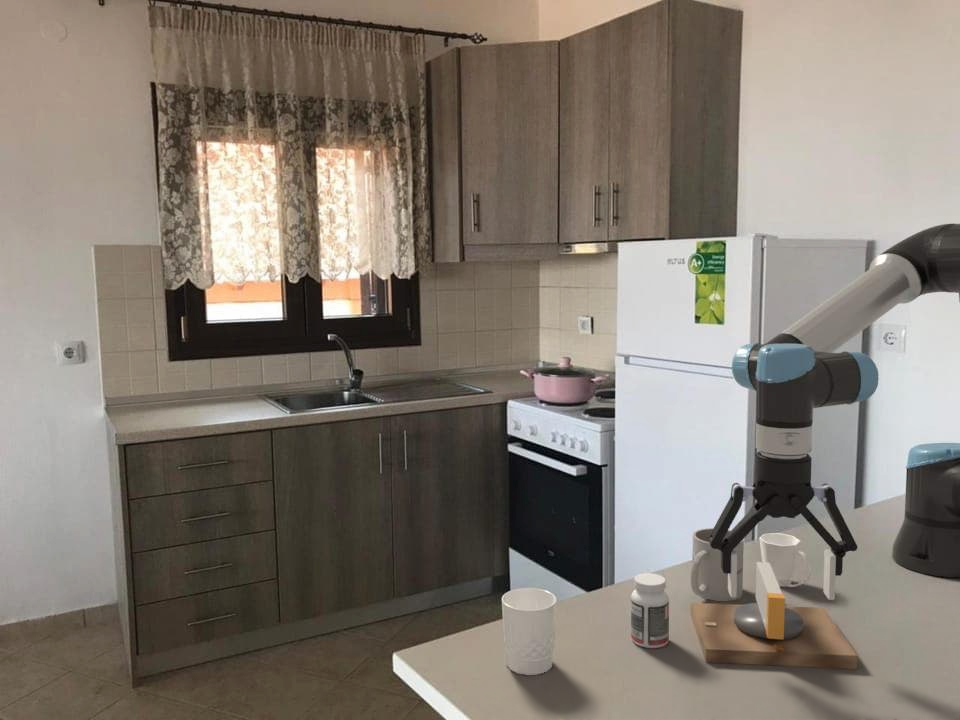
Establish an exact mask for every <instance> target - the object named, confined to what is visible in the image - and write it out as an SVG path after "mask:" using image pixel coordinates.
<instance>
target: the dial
mask: <svg viewBox="0 0 960 720" xmlns="http://www.w3.org/2000/svg"><path fill="white" fill-rule="evenodd" d="M755 568H756V572H755V575H756V576H755V599H756V602H751V603H746V604H740V605H741V606H739V607H738V608H736V609H735V611H734V623H735V624H736V626H737V627H738V628H740V629H741V630H743V631H744V632H746V633H749V634H751V635H754V636H758V637H762V638H767V639H783V640H784V639H790V638H794V637H797V636H799V635H800V634H801V633H802V632H803V619H802V617H801V616H800V615H799V614H798V613H796V612H795V611H793V610H791V609H788V608H786V607H785V606H786V597H785V595H784V594H783V592H782V590H781V587H779V585H778V582H777V580H776V577H775V575H774V572H773V570H772V567H771V565H770V563H766V562H761V561H756V567H755Z"/></svg>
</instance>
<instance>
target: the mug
mask: <svg viewBox="0 0 960 720" xmlns="http://www.w3.org/2000/svg"><path fill="white" fill-rule="evenodd" d="M713 528H714V527H710V528H708V527H707V528H700V529H697V530H695V531H694V532H693V533H692V548H691V549H692V551H691V552H692V553H691V554H692V555H691V557H692V559H691V561H692V562H691V569H690V587H691V592H693V593H694V595H696V596H698V597H701V598H702V599H706V600H711V601H716V602H717V601H719V602H729V601H735V600H738V599H740V598H741V597H742V596H743V584H744V579H743V578H744V550H745V549H744V544H745V538H744V539H743V540H742V541H741V542H740V543H739V544H738V545H737V546H736V547H735V548H734V550H735V552H736V553H737V596H736V598H733V597H731V596H730V594H729V591H728V573H723V570H722V568H721V551H720V550H718V549H713V548H712V547H711V545H710V543H709V541H708V538H709V536H710V534H711V532H712V530H713ZM731 530H732V529H728V531H727V533H726V535H725V537H726V536H727V535H728V534H729V532H730V531H731ZM725 537H724V538H725ZM724 538H723V539H724Z"/></svg>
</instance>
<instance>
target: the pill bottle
mask: <svg viewBox="0 0 960 720" xmlns="http://www.w3.org/2000/svg"><path fill="white" fill-rule="evenodd" d="M666 583H667V582H666V579H665V577H663V575H660V574H658V573H650V572H648V573H647V572H646V573H639V574H637V575H636V576H634V581H633V586H634V588H635V589H634V590H633V592H632V593H631V595H630V636H631V640H632V642H633V643H634V644H635V645H637V646H639V647H642V648H645V649H646V648H647V649H659V648H662V647H665V646H666V645H667V644H668V643H669V639H670V638H669V637H670V621H669V620H670V597H669V595H668V593H667V592H666V591H665V589H666V587H667V585H666Z"/></svg>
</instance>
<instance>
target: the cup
mask: <svg viewBox="0 0 960 720" xmlns="http://www.w3.org/2000/svg"><path fill="white" fill-rule="evenodd" d="M758 540H759V544H760V545H759V547H760V553H761V561H762V562H766V563H770V565H771V567H772V570H773V572H774V575H775V577H776V580H777V582H778V585H779V587H780V588H782V587H788V588H794V587H799V586H801V585H804V584H805V583H807V582H809V580H810V578H811V575H812V568H811V561H810V559H809V557H808V556H807V554H806V552H803V551H801V550H800V546H801V542H802V540H800V539H798V537H796V536H794V535H792V534H791V535H790V534H786V533H781V532H772V533H771V532H769V533H764V534H762V535H761V536H760V537H759V539H758ZM799 555H800V557H802V559H803V561H804V562H805V568H806V574H805V578H804V579H803V580H802V581H801V582H798V583H796V584H792V580H791V579H792V578H793V576H794V572H795V569H796V567H797V561H798V558H799V557H798V556H799Z"/></svg>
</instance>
